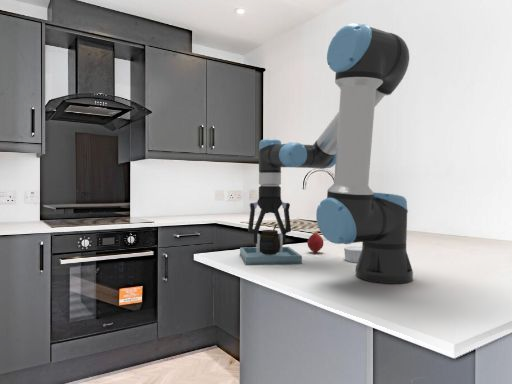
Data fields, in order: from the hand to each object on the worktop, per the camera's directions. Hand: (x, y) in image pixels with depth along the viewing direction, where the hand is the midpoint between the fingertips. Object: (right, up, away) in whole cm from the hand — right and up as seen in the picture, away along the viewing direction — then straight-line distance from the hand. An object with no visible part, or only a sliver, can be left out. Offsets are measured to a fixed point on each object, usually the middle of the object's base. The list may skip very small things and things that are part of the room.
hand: (269, 252), depth 134 cm
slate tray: (0, -2, 0) cm, 2 cm away
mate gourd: (0, 0, 0) cm, 0 cm away
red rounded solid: (+17, -2, +12) cm, 21 cm away
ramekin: (+30, -3, -2) cm, 30 cm away
